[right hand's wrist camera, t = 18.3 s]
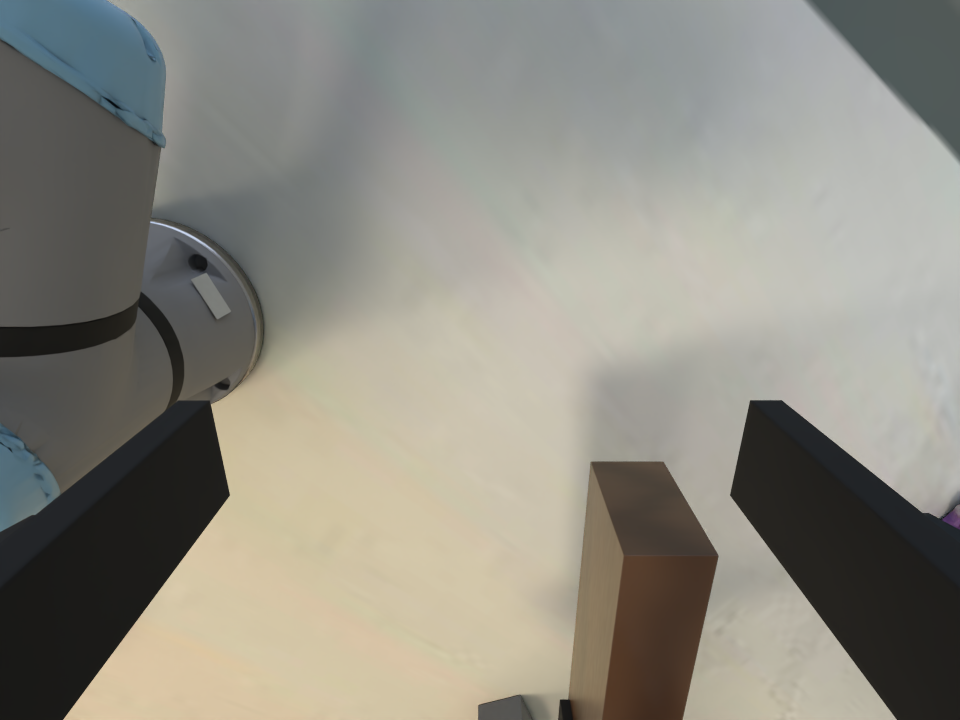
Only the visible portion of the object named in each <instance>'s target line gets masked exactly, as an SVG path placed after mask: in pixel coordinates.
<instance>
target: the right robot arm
mask: <svg viewBox="0 0 960 720" xmlns="http://www.w3.org/2000/svg"><path fill="white" fill-rule="evenodd" d="M165 81H166V67H165V61H164V58H163V55H162V52H161V50H160V48H159V46H158V44H157V43H156V41H155V40H154V38H153V37H152V35H151V34H150V33H149V32H148V31H147V30H146V29H145V28H144V26H143V25H141V24H140V23H139V22H138V21H137V20H136V19H134V18H133V17H132V16H130V15H129V14H127V13H126V12H125V11H123V10H121V9H120V8H118V7H117V6H115V5H113V4H112V3H110V2H108V1H107V0H0V720H63V719H64V718H65V716H66V715H67V714H68V712H69V711H70V710H71V708H72V707H73V706H74V704H75V703H76V702H77V700H78V699H79V698H80V696H81V695H82V693H83V692H84V691H85V689H86V688H87V687H88V685H89V684H90V683H91V681H92V680H93V679H94V677H95V676H96V675H97V673H98V672H99V671H100V669H101V668H102V667H103V665H104V664H105V663H106V661H107V660H108V659H109V657H110V656H111V654H112V653H113V652H114V650H115V649H116V648H117V646H118V645H119V644H120V642H121V641H122V640H123V638H124V637H125V636H126V634H127V633H128V632H129V630H130V629H131V628H132V626H133V625H134V624H135V622H136V621H137V620H138V618H139V617H140V616H141V614H142V613H143V611H144V610H145V609H146V607H147V606H148V605H149V603H150V602H151V601H152V599H153V598H154V597H155V595H156V594H157V593H158V591H159V590H160V589H161V587H162V586H163V585H164V583H165V582H166V581H167V579H168V578H169V577H170V575H171V574H172V572H173V571H174V570H175V568H176V567H177V566H178V564H179V563H180V562H181V560H182V559H183V558H184V556H185V555H186V554H187V552H188V551H189V550H190V548H191V547H192V546H193V544H194V543H195V542H196V540H197V539H198V538H199V536H200V535H201V533H202V532H203V531H204V529H205V528H206V527H207V525H208V524H209V523H210V521H211V520H212V519H213V517H214V516H215V515H216V513H217V512H218V511H219V509H220V508H221V507H222V505H223V504H224V503H225V501H226V500H227V499H228V497H229V496H230V494H229V489H228V484H227V479H226V475H225V470H224V465H223V461H222V456H221V451H220V446H219V442H218V437H217V432H216V427H215V423H214V418H213V413H212V409H211V404H212V403H214V402H216V401H219V400H220V399H222V398H224V397H225V396H227V395H228V394H229V393H230V392H232V391H233V390H234V389H235V388H236V387H237V386H238V385H239V384H240V383H241V382H242V381H243V380H244V379H245V378H246V377H247V376H248V375H249V373H250V372H251V371H252V369H253V367H254V366H255V364H256V362H257V360H258V357H259V354H260V351H261V347H262V342H263V318H262V312H261V308H260V304H259V301H258V298H257V296H256V293H255V291H254V289H253V287H252V285H251V283H250V281H249V279H248V278H247V276H246V275H245V273H244V271H243V270H242V269H241V268H240V266H239V265H238V264H237V263H236V261H235V260H234V259H233V258H232V257H231V256H230V255H229V254H228V253H227V252H226V251H225V250H224V249H223V248H221V247H220V246H219V245H218V244H216V243H215V242H214V241H212V240H211V239H209V238H208V237H206V236H205V235H203V234H201V233H199V232H197V231H196V230H193V229H191V228H189V227H187V226H184V225H181V224H178V223H175V222H172V221H167V220H163V219H156V218H151V214H152V207H153V200H154V193H155V186H156V179H157V173H158V166H159V159H160V152H161V147H162V148H165V145H166V140H165V137H164V135H163V133H162V121H163V107H164V94H165ZM730 496H731V497H732V499H733V500H734V501H735V503H736V504H737V505H738V507H739V508H740V509H741V511H742V512H743V513H744V515H745V516H746V517H747V519H748V520H749V521H750V523H751V524H752V525H753V527H754V528H755V529H756V531H757V532H758V533H759V535H760V536H761V538H762V539H763V540H764V542H765V543H766V544H767V546H768V547H769V548H770V550H771V551H772V552H773V554H774V555H775V556H776V558H777V559H778V560H779V562H780V563H781V564H782V566H783V567H784V568H785V570H786V571H787V572H788V574H789V575H790V577H791V578H792V579H793V581H794V582H795V583H796V585H797V586H798V587H799V589H800V590H801V591H802V593H803V594H804V595H805V597H806V598H807V599H808V601H809V602H810V603H811V605H812V606H813V607H814V609H815V610H816V611H817V613H818V614H819V616H820V617H821V618H822V620H823V621H824V622H825V624H826V625H827V626H828V628H829V629H830V630H831V632H832V633H833V634H834V636H835V637H836V638H837V640H838V641H839V642H840V644H841V645H842V646H843V648H844V649H845V650H846V652H847V653H848V655H849V656H850V657H851V659H852V660H853V661H854V663H855V664H856V665H857V667H858V668H859V669H860V671H861V672H862V673H863V675H864V676H865V677H866V679H867V680H868V681H869V683H870V684H871V685H872V687H873V688H874V689H875V691H876V692H877V693H878V695H879V696H880V698H881V699H882V700H883V702H884V703H885V704H886V706H887V707H888V708H889V710H890V711H891V712H892V714H893V715H894V716H895V718H896V719H897V720H960V529H958V528H956V527H954V526H952V525H950V524H948V523H946V522H944V521H943V520H941V519H939V518H937V517H935V516H933V515H931V514H929V513H922V512H920V511H919V510H918V509H917V508H915V507H914V506H913V505H912V504H910V503H909V502H908V501H907V500H905V499H904V498H903V497H902V496H900V495H899V494H898V493H897V492H895V491H894V490H893V489H892V488H890V487H889V486H888V485H887V484H885V483H884V482H883V481H882V480H881V479H879V478H878V477H877V476H876V475H874V474H873V473H872V472H871V471H869V470H868V469H867V468H866V467H864V466H863V465H862V464H861V463H859V462H858V461H857V460H856V459H854V458H853V457H852V456H851V455H849V454H848V453H847V452H846V451H844V450H843V449H842V448H841V447H839V446H838V445H837V444H836V443H834V442H833V441H832V440H831V439H829V438H828V437H827V436H826V435H824V434H823V433H822V432H821V431H819V430H818V429H817V428H816V427H814V426H813V425H812V424H811V423H809V422H808V421H807V420H806V419H804V418H803V417H802V416H801V415H799V414H798V413H797V412H796V411H794V410H793V409H792V408H791V407H789V406H788V405H787V404H786V403H784V402H783V401H782V400H750V404H749V409H748V413H747V418H746V423H745V427H744V432H743V437H742V442H741V446H740V451H739V456H738V461H737V465H736V470H735V475H734V479H733V484H732V489H731V494H730Z"/></svg>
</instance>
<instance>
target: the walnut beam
mask: <svg viewBox="0 0 960 720" xmlns="http://www.w3.org/2000/svg"><path fill="white" fill-rule="evenodd" d="M717 561H718V554H717V552H716V550H715V549H714V547H713V545H712V544H711V542H710V540H709V538H708V537H707V535H706V533H705V532H704V530H703V528H702V527H701V525H700V523H699V521H698V520H697V518H696V516H695V515H694V513H693V511H692V510H691V508H690V506H689V504H688V503H687V501H686V499H685V498H684V496H683V494H682V492H681V491H680V489H679V487H678V486H677V484H676V482H675V481H674V479H673V477H672V475H671V474H670V472H669V470H668V469H667V467H666V465H665V464H664V462H591V464H590V475H589V486H588V496H587V507H586V518H585V528H584V539H583V549H582V560H581V571H580V581H579V592H578V603H577V613H576V624H575V634H574V645H573V656H572V666H571V677H570V687H569V698H568V700H570V704H571V711H572V717H573V720H682V719H683V715H684V710H685V706H686V701H687V697H688V692H689V688H690V683H691V679H692V674H693V670H694V665H695V660H696V656H697V651H698V647H699V642H700V638H701V633H702V629H703V624H704V620H705V615H706V611H707V606H708V602H709V597H710V592H711V588H712V583H713V579H714V574H715V570H716V565H717Z"/></svg>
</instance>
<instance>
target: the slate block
mask: <svg viewBox="0 0 960 720" xmlns="http://www.w3.org/2000/svg"><path fill="white" fill-rule="evenodd" d="M478 720H532V718H531V716H530V714H529V712H528V710H527V708H526V706H525V704H524V701H523V699H522V697H521V695H518V696H514V697H510V698H506V699H502V700H498V701H494V702H490V703H486V704H482V705H479V706H478Z"/></svg>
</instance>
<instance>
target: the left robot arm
mask: <svg viewBox="0 0 960 720" xmlns="http://www.w3.org/2000/svg"><path fill="white" fill-rule="evenodd" d="M558 720H573V717H572V711H571V704H570V700H560V706H559V718H558Z"/></svg>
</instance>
